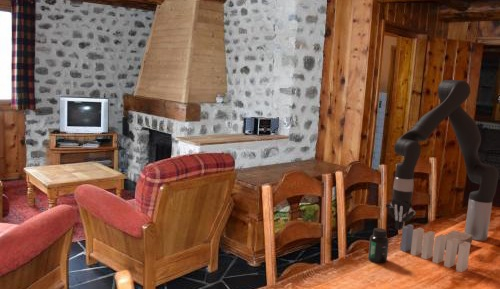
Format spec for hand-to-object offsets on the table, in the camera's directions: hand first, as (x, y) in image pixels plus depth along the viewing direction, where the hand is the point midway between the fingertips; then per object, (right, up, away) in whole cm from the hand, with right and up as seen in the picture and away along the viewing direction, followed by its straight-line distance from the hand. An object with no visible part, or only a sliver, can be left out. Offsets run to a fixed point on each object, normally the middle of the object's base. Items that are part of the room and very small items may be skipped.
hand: (398, 229), depth 185 cm
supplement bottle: (-13, -9, -14) cm, 21 cm away
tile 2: (+5, -9, -5) cm, 11 cm away
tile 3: (+8, -9, -8) cm, 15 cm away
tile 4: (+11, -10, -12) cm, 19 cm away
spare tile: (+2, -8, -2) cm, 8 cm away
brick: (+25, -8, +5) cm, 27 cm away
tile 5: (+14, -11, -15) cm, 23 cm away
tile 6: (+17, -11, -18) cm, 28 cm away
